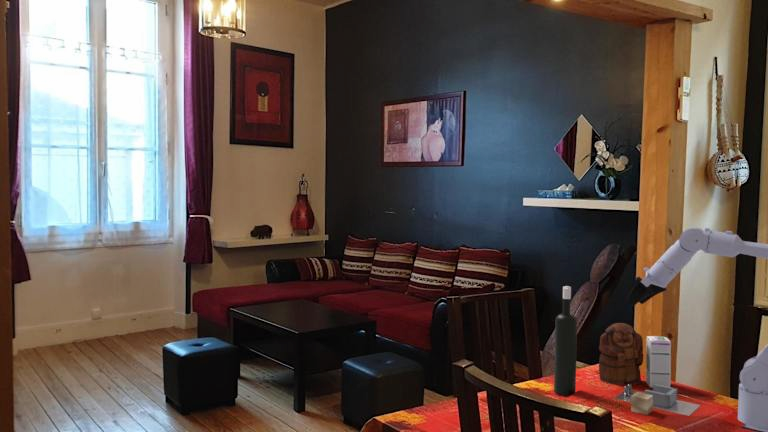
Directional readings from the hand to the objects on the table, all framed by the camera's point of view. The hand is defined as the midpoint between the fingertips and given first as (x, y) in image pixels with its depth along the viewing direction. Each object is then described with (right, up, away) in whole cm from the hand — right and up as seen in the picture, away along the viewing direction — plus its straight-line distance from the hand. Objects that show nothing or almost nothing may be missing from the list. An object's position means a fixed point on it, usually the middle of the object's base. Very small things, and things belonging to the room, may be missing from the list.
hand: (634, 302), depth 170 cm
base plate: (+5, -27, -2) cm, 27 cm away
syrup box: (+12, -26, +12) cm, 31 cm away
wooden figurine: (+2, -26, +15) cm, 30 cm away
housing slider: (+6, -26, -2) cm, 27 cm away
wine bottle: (-16, -26, +8) cm, 32 cm away
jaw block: (-1, -27, -9) cm, 29 cm away
